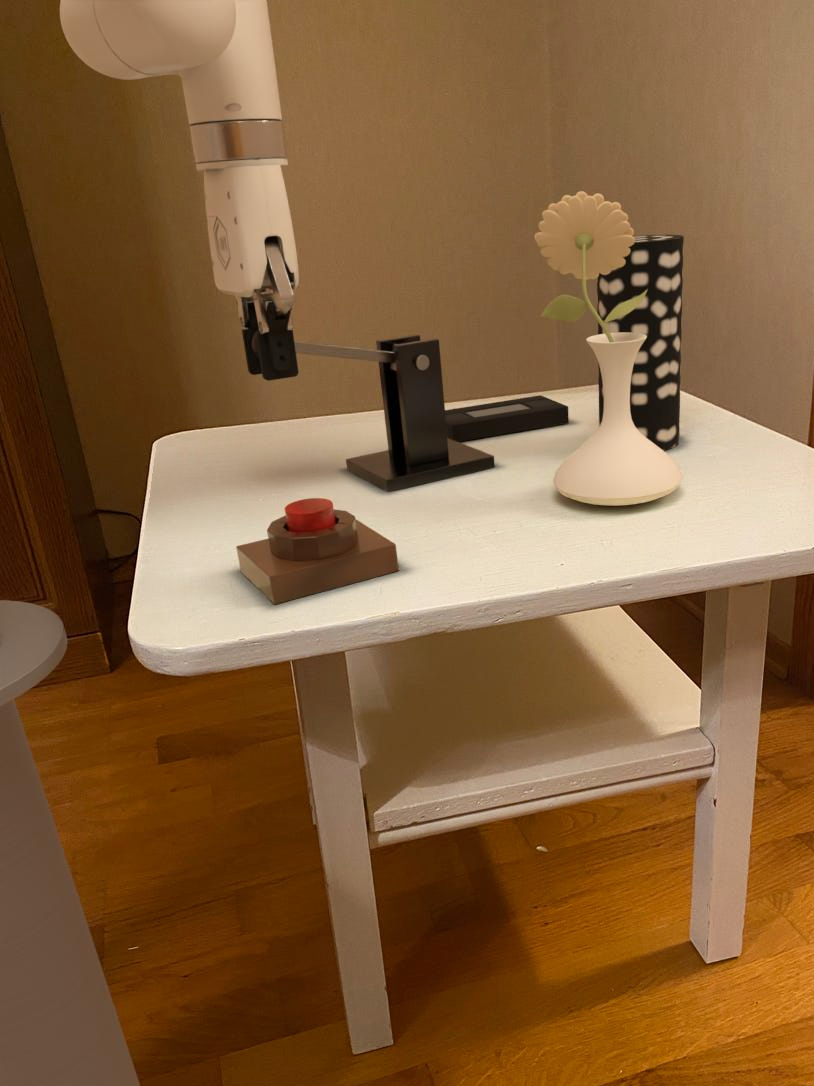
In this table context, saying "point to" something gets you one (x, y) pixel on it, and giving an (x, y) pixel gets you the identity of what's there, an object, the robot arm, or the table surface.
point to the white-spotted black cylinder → (649, 332)
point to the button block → (315, 558)
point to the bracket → (415, 423)
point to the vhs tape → (504, 417)
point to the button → (310, 515)
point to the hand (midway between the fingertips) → (273, 373)
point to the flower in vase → (603, 358)
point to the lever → (338, 351)
